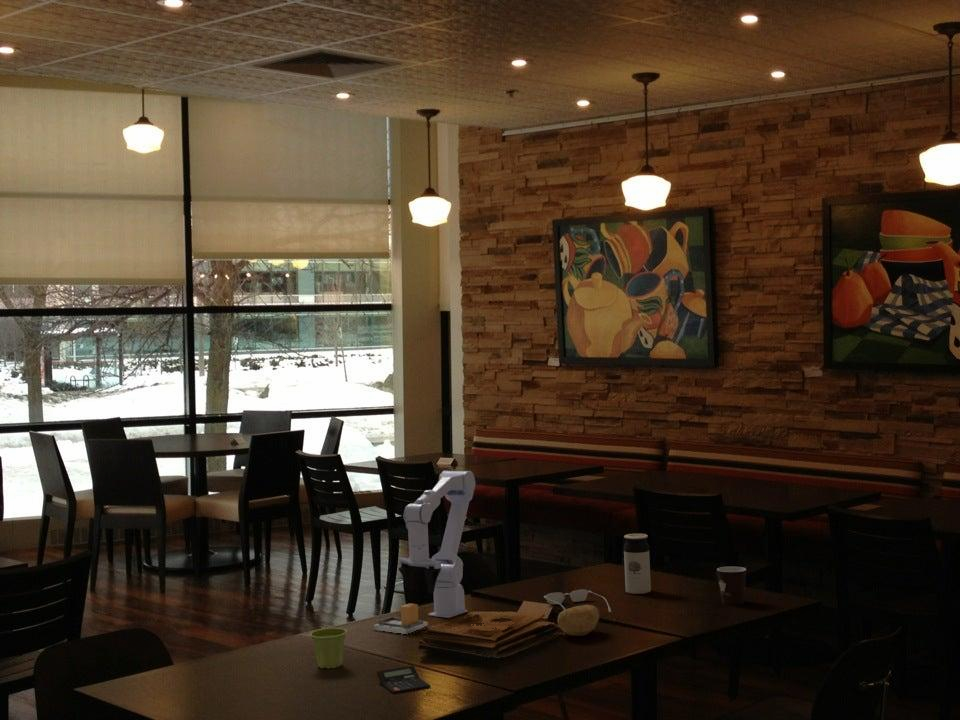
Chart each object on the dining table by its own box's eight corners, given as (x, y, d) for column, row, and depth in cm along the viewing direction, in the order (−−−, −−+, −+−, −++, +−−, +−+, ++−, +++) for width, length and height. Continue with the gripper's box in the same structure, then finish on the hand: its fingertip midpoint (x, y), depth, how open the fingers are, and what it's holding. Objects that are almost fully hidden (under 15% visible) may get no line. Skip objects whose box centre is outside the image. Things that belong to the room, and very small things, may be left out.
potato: (610, 632, 325) (609, 603, 325) (577, 642, 315) (576, 613, 315) (582, 627, 332) (581, 599, 332) (550, 637, 322) (548, 608, 321)
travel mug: (633, 588, 380) (630, 532, 380) (655, 590, 376) (652, 534, 375) (621, 593, 374) (618, 536, 374) (643, 595, 369) (641, 538, 369)
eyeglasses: (589, 601, 366) (589, 588, 366) (614, 613, 349) (613, 599, 349) (543, 606, 361) (543, 593, 361) (566, 619, 344) (565, 605, 344)
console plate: (396, 622, 347) (396, 615, 347) (428, 627, 340) (427, 619, 340) (373, 630, 339) (373, 622, 339) (405, 634, 332) (405, 626, 331)
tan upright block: (410, 622, 339) (409, 602, 339) (418, 623, 338) (417, 603, 338) (401, 625, 336) (400, 605, 336) (409, 626, 334) (408, 606, 334)
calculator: (393, 695, 275) (392, 682, 275) (377, 683, 286) (376, 670, 286) (430, 689, 279) (429, 676, 279) (413, 677, 290) (412, 665, 290)
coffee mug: (750, 604, 350) (748, 571, 350) (721, 606, 350) (719, 572, 350) (742, 596, 361) (741, 564, 361) (714, 597, 362) (712, 565, 361)
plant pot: (318, 673, 296) (317, 638, 296) (306, 664, 304) (305, 631, 304) (353, 667, 300) (352, 633, 300) (340, 659, 309) (339, 626, 309)
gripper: (390, 545, 343) (392, 591, 343) (429, 548, 334) (431, 596, 334) (406, 541, 349) (408, 587, 349) (444, 544, 340) (446, 591, 340)
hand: (420, 591), depth 342 cm, fingers open, 7 cm apart
